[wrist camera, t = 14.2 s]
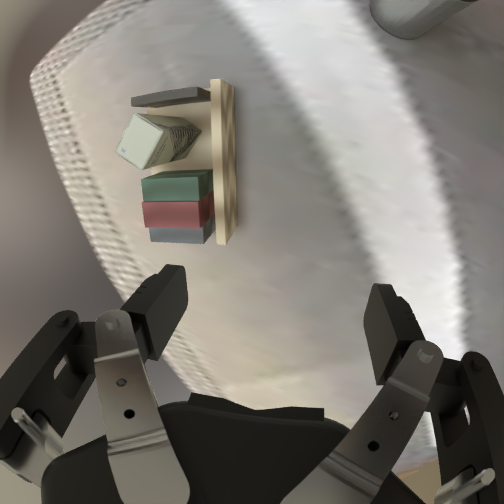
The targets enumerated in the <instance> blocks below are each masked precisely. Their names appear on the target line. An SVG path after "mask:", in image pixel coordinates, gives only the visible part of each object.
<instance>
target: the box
mask: <svg viewBox="0 0 504 504" xmlns="http://www.w3.org/2000/svg"><path fill="white" fill-rule="evenodd" d="M201 132H202V130H200V129H199V128H197V127H196V126H194V125H193V124H191V123H190V122H188V121H186V120H185V119H183V118H181V117H174V116H163V115H151V114H139V113H135V114H134V115H133V116H132V118H131V120H130V122H129V123H128V125H127V127H126V129H125V131H124V133H123V135H122V137H121V139H120V141H119V144H118V146H117V148H116V150H115V153H116V154H118V155H119V156H121V157H122V158H123V159H125V160H126V161H128V162H129V163H131V164H132V165H134V166H135V167H137V168H139V169H140V170H144V169H147V168H151V167H154V166H158V165H161V164H165V163H169V162H173V161H177V160H181V159H185V158H186V156H187V154H188V153H189V152H190V150H191V148H192V147H193V145H194V144H195V142H196V141H197V139H198V137H199V136H200V134H201Z"/></svg>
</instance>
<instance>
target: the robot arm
mask: <svg viewBox="0 0 504 504" xmlns="http://www.w3.org/2000/svg"><path fill="white" fill-rule="evenodd" d="M476 1H477V0H370V11H371V14H372V16H373V18H374V19H375V21H376V22H377V23H378V24H379V25H380V26H381V27H382V28H383V29H384V30H385V31H387V32H388V33H390V34H392V35H394V36H396V37H399V38H402V39H415V38H418V37H419V36H421V35H422V34H424V33H425V32H427V31H429V30H430V29H432V28H433V27H435V26H436V25H438V24H440V23H441V22H443V21H444V20H446V19H447V18H449V17H451V16H452V15H454V14H456V13H457V12H459V11H461V10H462V9H464V8H465V7H467V6H469V5H471V4H472V3H474V2H476ZM187 305H188V291H187V282H186V272H185V268H184V266H180V265H170V264H166V265H165V266H164V268H163V269H162V270H161V271H160V272H159V273H158V274H154V275H152V276H150V277H149V278H147V279H145V280H144V282H143V283H142V284H141V285H140V287H138V289H137V290H136V291H135V293H133V294H132V296H131V297H130V298H129V299H128V300H127V301H126V303H125V304H124V305H123V306H122V307H121V309H120V310H111V311H107V312H105V313H103V314H101V315H100V316H99V317H98V318H97V320H96V322H80V320H79V317H78V315H77V313H76V312H74V311H71V310H66V311H61V312H58V313H56V314H55V315H54V316H52V317H51V318H50V319H49V320H48V322H47V323H46V324H45V325H44V326H43V327H42V328H41V329H40V331H39V332H38V333H37V334H36V335H35V336H34V338H33V339H32V340H31V341H30V342H29V343H28V345H27V346H26V347H25V348H24V350H23V351H22V352H21V353H20V354H19V356H18V357H17V358H16V359H15V361H14V362H13V363H12V364H11V366H10V367H9V368H8V369H7V371H6V372H5V374H4V375H3V376H2V377H1V379H0V463H1V464H2V465H3V466H5V467H6V468H7V469H8V470H10V471H11V472H13V473H15V474H17V475H18V476H19V477H21V478H22V479H24V480H25V481H27V482H30V483H34V484H35V485H37V486H38V487H40V488H41V498H42V504H425V503H424V502H423V501H422V500H421V499H420V498H419V497H418V496H417V495H416V494H415V493H414V492H413V491H412V490H410V488H409V487H407V486H406V485H405V484H404V483H403V482H402V481H401V480H400V479H399V478H398V477H397V476H396V475H395V474H394V473H393V472H392V471H391V469H392V468H393V466H394V465H395V463H396V462H397V460H398V458H399V457H400V455H401V454H402V452H403V450H404V448H405V447H406V445H407V443H408V442H409V440H410V438H411V436H412V434H413V433H414V431H415V429H416V427H417V425H418V423H419V421H420V419H421V417H422V415H423V413H424V411H426V412H430V413H431V418H432V423H433V428H434V433H435V439H436V445H437V452H438V458H439V466H440V474H441V484H442V487H441V488H440V489H439V490H438V491H437V493H436V495H435V499H434V503H433V504H504V395H503V392H502V390H501V387H500V385H499V383H498V380H497V378H496V376H495V373H494V371H493V369H492V367H491V365H490V363H489V361H488V360H487V358H486V357H484V356H483V355H482V354H480V353H478V352H473V351H471V352H467V353H465V354H464V356H463V357H462V359H461V361H457V360H453V359H448V358H444V357H443V353H442V351H441V349H440V348H439V347H438V346H437V345H435V344H434V343H432V342H429V341H426V339H425V337H424V335H423V333H422V330H421V328H420V326H419V324H418V322H417V320H416V318H415V315H414V313H413V311H412V309H411V307H410V305H409V303H407V302H406V301H405V300H404V299H403V298H402V297H401V296H397V295H396V293H395V291H394V289H393V287H392V285H391V284H378V283H374V284H373V286H372V289H371V293H370V296H369V300H368V303H367V307H366V310H365V314H364V330H365V334H366V338H367V343H368V347H369V351H370V356H371V360H372V365H373V370H374V375H375V380H376V385H384V386H383V387H382V389H381V390H380V392H379V393H378V395H377V396H376V397H375V399H374V400H373V402H372V403H371V404H370V406H369V407H368V408H367V410H366V411H365V412H364V414H363V415H362V416H361V418H360V419H359V420H358V421H357V423H356V424H355V425H354V427H353V428H352V429H351V430H350V429H349V428H347V427H346V426H344V425H343V424H341V423H338V422H336V421H334V420H331V419H328V418H324V408H307V407H292V406H291V407H283V408H275V409H265V410H254V409H250V408H248V407H245V406H242V405H239V404H237V403H234V402H231V401H229V400H226V399H224V398H219V397H213V396H208V395H203V394H198V393H193V392H192V393H191V395H190V398H189V400H188V401H180V402H173V403H168V404H165V405H162V406H160V407H159V404H158V402H157V400H156V396H155V394H154V391H153V388H152V385H151V382H150V379H149V376H148V373H147V370H146V367H145V362H146V360H147V359H151V360H155V361H158V359H159V358H160V356H161V354H162V352H163V350H164V348H165V347H166V345H167V343H168V341H169V339H170V337H171V336H172V334H173V332H174V330H175V328H176V327H177V325H178V323H179V321H180V319H181V318H182V316H183V314H184V312H185V311H186V308H187ZM62 358H64V359H65V361H66V364H65V366H64V367H63V369H62V370H61V372H60V373H59V375H58V376H57V378H56V379H55V380H54V370H55V368H56V367H57V365H58V364H59V362H60V361H61V360H62ZM95 378H96V382H97V388H98V395H99V401H100V407H101V413H102V417H103V423H104V427H105V431H106V434H105V435H103V436H102V437H99V438H97V439H96V440H93V441H91V442H89V443H87V444H85V445H83V446H80V447H78V448H76V449H74V450H71V451H69V452H67V453H65V454H64V452H63V440H62V437H63V435H64V433H65V431H66V430H67V428H68V426H69V424H70V422H71V420H72V418H73V416H74V414H75V413H76V411H77V409H78V407H79V405H80V404H81V402H82V400H83V398H84V397H85V395H86V393H87V391H88V390H89V388H90V386H91V385H92V383H93V381H94V379H95ZM466 405H467V409H468V412H469V415H470V424H468V420H467V417H466V413H465V410H464V408H465V407H466Z"/></svg>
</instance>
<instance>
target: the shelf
mask: <svg viewBox="0 0 504 504" xmlns="http://www.w3.org/2000/svg"><path fill="white" fill-rule="evenodd" d="M210 82H211V87H209V88H200V87H190V88H182V89H175V90H169V91H163V92H157V93H152V94H147V95H142V96H137V97H132V98H131V106H133V107H148V114H151V115H163V116H174V117H181V118H183V119H185V120H186V121H188V122H190V123H191V124H193V125H194V126H196V127H197V128H199V129H200V130H202V132H201V134H200V136H199V137H198V139H197V141H196V142H195V144H194V145H193V147H192V148H191V150H190V152H189V153H188V154H187V156H186V158H185V159H181V160H177V161H173V162H169V163H165V164H161V165H158V166H154V167H151V176H149V177H146V178H144V179H141V182H142V192H143V200H144V202H142V208H143V215H144V223H145V227H149V232H150V238H151V242H171V243H192V244H204V243H205V242H206V241H207V239H208V238H209V237H210V236H211V234H212V233H213V232H214V230H215V229H216V238H217V245H226V244H227V242H228V241H229V239H230V237H231V236H232V234H233V232H234V231H235V229H236V227H237V196H236V157H235V108H234V87H233V86H232V85H230V84H228V83H227V82H225V81H223V80H222V79H211V80H210Z"/></svg>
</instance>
